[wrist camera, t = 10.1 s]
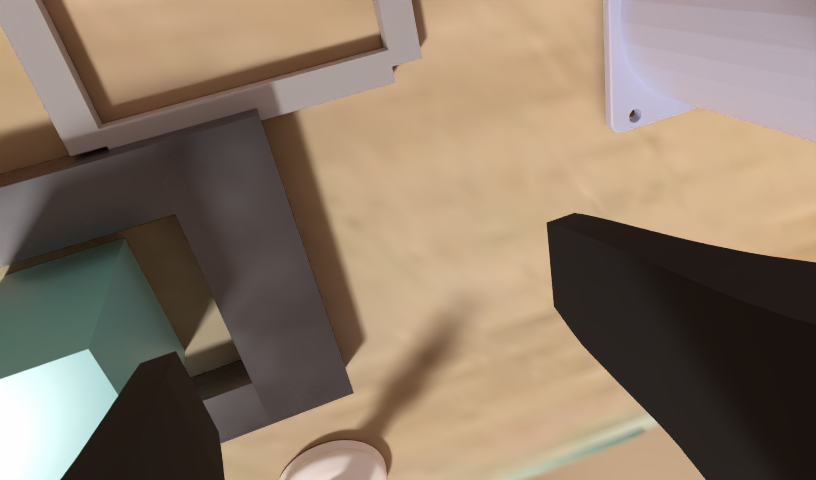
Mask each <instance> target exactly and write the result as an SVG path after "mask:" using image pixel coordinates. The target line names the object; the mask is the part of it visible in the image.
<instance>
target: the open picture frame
mask: <svg viewBox="0 0 816 480" xmlns="http://www.w3.org/2000/svg"><path fill="white" fill-rule="evenodd" d="M373 1H374V6H375V11H376V15H377V20H378V25H379V29H380V34H381V39H382V43H383V48H380V49H376V50H373V51H369V52H365V53H362V54H358V55H354V56H351V57H347V58H343V59H340V60H336V61H332V62H329V63H325V64H321V65H318V66H314V67H310V68H307V69H303V70H299V71H295V72H292V73H288V74H284V75H281V76H277V77H273V78H270V79H266V80H262V81H259V82H255V83H251V84H248V85H244V86H240V87H237V88H233V89H229V90H226V91H222V92H218V93H214V94H211V95H207V96H203V97H200V98H196V99H192V100H189V101H185V102H181V103H178V104H174V105H170V106H167V107H163V108H159V109H156V110H152V111H148V112H145V113H141V114H137V115H133V116H130V117H126V118H122V119H119V120H115V121H111V122H108V123H104V124H102V122H101V120H100V118H99V116H98V114H97V112H96V110H95V108H94V106H93V104H92V102H91V100H90V98H89V96H88V94H87V92H86V89H85V87H84V85H83V83H82V81H81V79H80V77H79V75H78V73H77V71H76V69H75V67H74V65H73V63H72V61H71V59H70V57H69V55H68V52H67V50H66V48H65V46H64V44H63V42H62V40H61V38H60V36H59V34H58V32H57V30H56V28H55V26H54V24H53V22H52V20H51V17H50V15H49V13H48V11H47V9H46V7H45V5H44V3H43V1H42V0H0V25H1V27H2V28H3V30H4V32H5V34H6V36H7V38H8V40H9V42H10V44H11V45H12V47H13V49H14V51H15V53H16V55H17V57H18V59H19V60H20V62H21V64H22V66H23V68H24V70H25V72H26V74H27V76H28V77H29V79H30V81H31V83H32V85H33V87H34V89H35V91H36V92H37V94H38V96H39V98H40V100H41V102H42V104H43V106H44V108H45V109H46V111H47V113H48V115H49V117H50V119H51V121H52V123H53V124H54V126H55V128H56V130H57V132H58V134H59V136H60V138H61V140H62V141H63V143H64V145H65V147H66V149H67V151H68V153H69V155H70V156H73V155H76V154H80V153H84V152H87V151H91V150H94V149H98V148H101V147H105V146H107V147H108V149H111V148H115V147H118V146H122V145H126V144H129V143H133V142H136V141H140V140H143V139H147V138H151V137H154V136H158V135H161V134H165V133H168V132H172V131H176V130H179V129H183V128H186V127H190V126H194V125H197V124H201V123H204V122H208V121H211V120H215V119H219V118H222V117H226V116H229V115H233V114H236V113H240V112H244V111H247V110H251V109H254V108H257V110H258V113H259V116H260V119H261V121H262V120H265V119H269V118H272V117H276V116H279V115H283V114H286V113H290V112H293V111H297V110H300V109H304V108H307V107H311V106H314V105H318V104H322V103H325V102H329V101H332V100H336V99H339V98H343V97H346V96H350V95H353V94H357V93H360V92H364V91H367V90H371V89H374V88H378V87H381V86H385V85H388V84H392V83H395V79H394V74H393V69H392V66H396V65H399V64H403V63H407V62H410V61H414V60H417V59H421V58H422V55H421V50H420V44H419V39H418V33H417V28H416V23H415V17H414V12H413V6H412V1H411V0H373Z"/></svg>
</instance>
